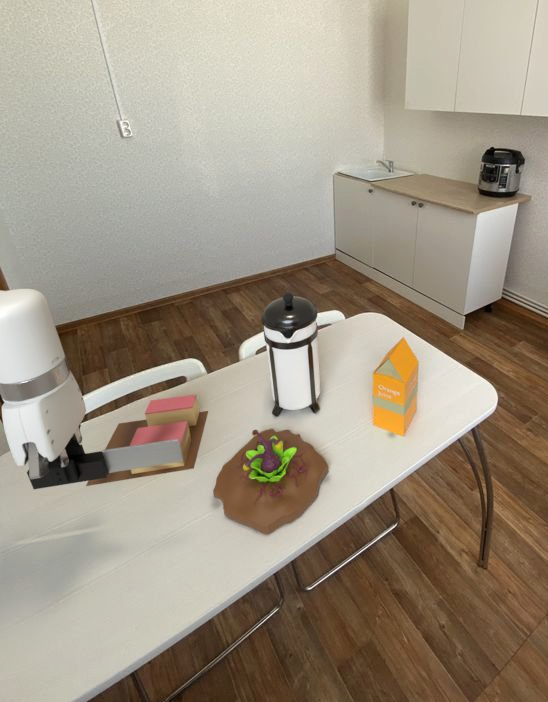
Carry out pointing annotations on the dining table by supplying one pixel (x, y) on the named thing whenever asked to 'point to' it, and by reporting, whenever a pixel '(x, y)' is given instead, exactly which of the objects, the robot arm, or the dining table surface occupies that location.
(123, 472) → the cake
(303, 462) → the plant
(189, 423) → the cake slice
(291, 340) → the coffee press
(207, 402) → the dining table surface
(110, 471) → the knife
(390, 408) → the orange juice
